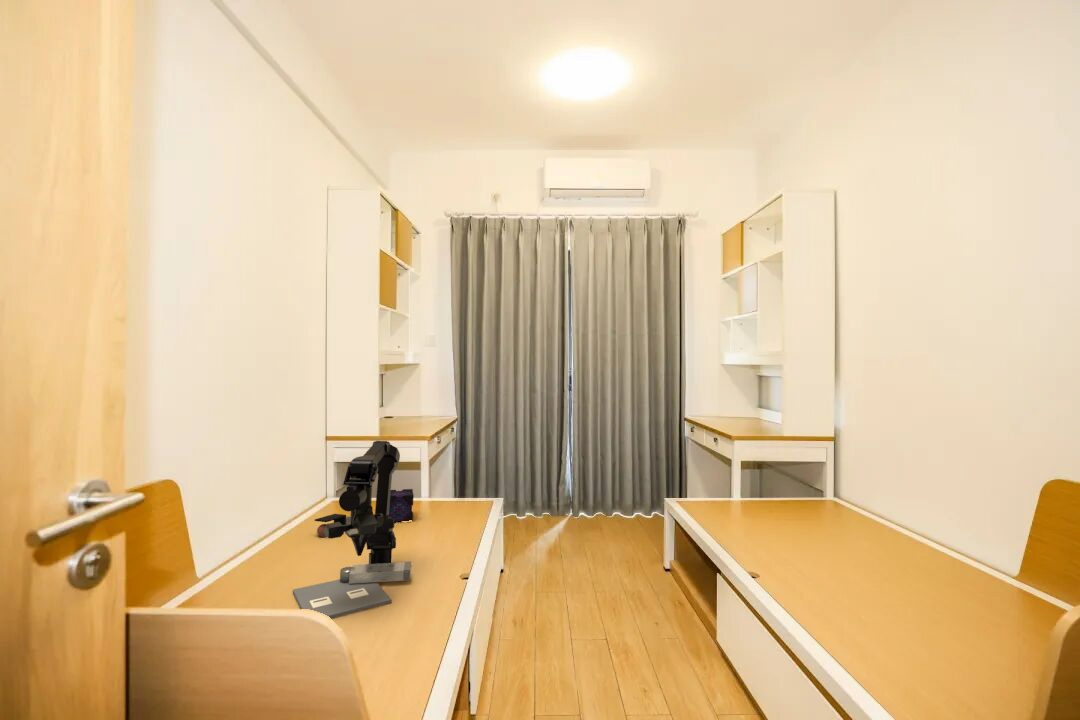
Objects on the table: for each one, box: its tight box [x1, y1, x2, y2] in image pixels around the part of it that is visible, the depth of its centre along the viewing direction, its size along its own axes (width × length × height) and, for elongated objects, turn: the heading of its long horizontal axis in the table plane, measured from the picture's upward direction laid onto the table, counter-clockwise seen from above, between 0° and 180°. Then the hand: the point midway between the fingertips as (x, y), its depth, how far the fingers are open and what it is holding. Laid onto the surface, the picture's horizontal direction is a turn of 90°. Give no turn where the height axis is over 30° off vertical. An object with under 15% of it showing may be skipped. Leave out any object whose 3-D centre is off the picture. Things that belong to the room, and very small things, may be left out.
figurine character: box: [314, 513, 350, 538], centre depth 196 cm, size 7×8×15 cm
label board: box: [292, 578, 393, 620], centre depth 139 cm, size 22×22×1 cm
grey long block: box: [339, 561, 412, 584], centre depth 151 cm, size 21×7×3 cm, turn 102°
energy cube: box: [389, 488, 414, 523], centre depth 217 cm, size 12×12×12 cm
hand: (359, 555), depth 141 cm, fingers closed
